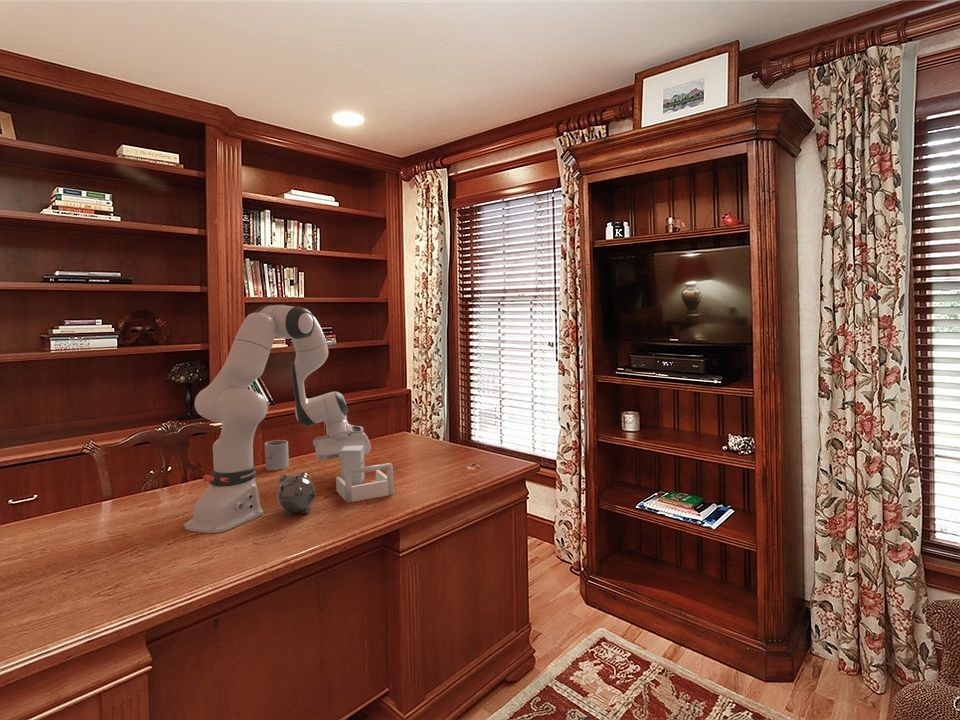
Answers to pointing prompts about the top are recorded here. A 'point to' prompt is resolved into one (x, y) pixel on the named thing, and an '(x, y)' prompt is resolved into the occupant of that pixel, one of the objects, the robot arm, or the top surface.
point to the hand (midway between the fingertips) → (347, 465)
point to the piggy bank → (295, 493)
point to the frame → (367, 490)
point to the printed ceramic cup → (276, 455)
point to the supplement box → (352, 462)
